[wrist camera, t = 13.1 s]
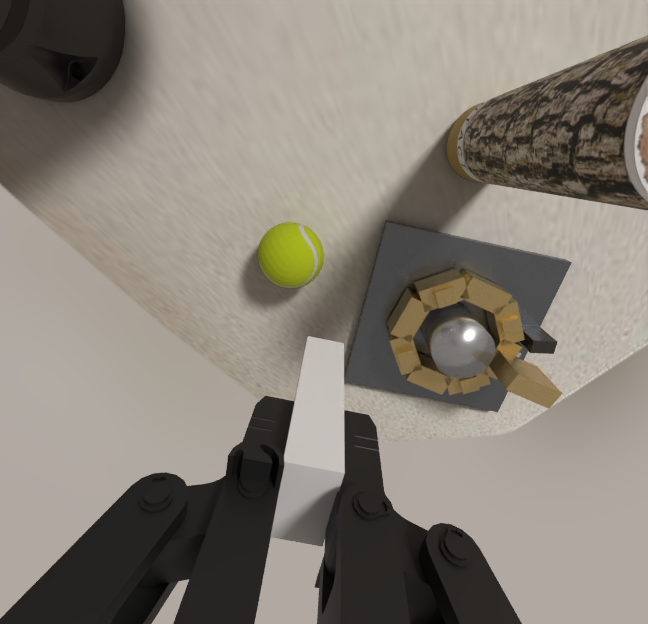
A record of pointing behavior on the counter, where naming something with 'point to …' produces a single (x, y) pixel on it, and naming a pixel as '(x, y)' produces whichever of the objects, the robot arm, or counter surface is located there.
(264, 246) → the tennis ball
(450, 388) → the ring nut
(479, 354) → the housing
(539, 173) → the bark textured cylinder
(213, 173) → the counter surface
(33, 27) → the robot arm
